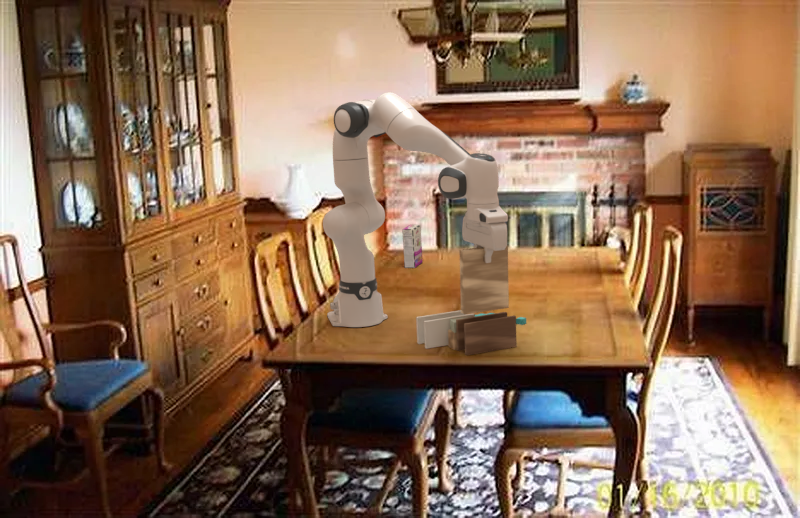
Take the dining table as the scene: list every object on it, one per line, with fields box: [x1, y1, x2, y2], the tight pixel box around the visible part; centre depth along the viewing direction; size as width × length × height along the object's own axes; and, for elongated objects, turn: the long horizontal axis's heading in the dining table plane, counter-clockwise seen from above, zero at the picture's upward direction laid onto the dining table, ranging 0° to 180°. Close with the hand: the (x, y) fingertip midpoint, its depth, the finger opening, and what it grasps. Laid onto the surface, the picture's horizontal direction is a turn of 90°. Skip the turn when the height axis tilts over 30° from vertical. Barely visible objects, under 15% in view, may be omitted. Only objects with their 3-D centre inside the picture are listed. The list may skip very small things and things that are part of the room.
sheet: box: [459, 245, 510, 314], centre depth 259 cm, size 2×14×18 cm, turn 113°
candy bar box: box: [401, 224, 423, 269], centre depth 381 cm, size 11×5×16 cm, turn 162°
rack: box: [456, 311, 517, 356], centre depth 262 cm, size 6×16×9 cm, turn 113°
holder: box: [415, 309, 476, 350], centre depth 270 cm, size 6×16×8 cm, turn 113°
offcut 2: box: [448, 330, 458, 351], centre depth 265 cm, size 4×6×5 cm, turn 113°
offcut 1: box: [450, 318, 463, 333], centre depth 264 cm, size 4×5×3 cm
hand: (484, 261), depth 258 cm, fingers closed on sheet, 2 cm apart
